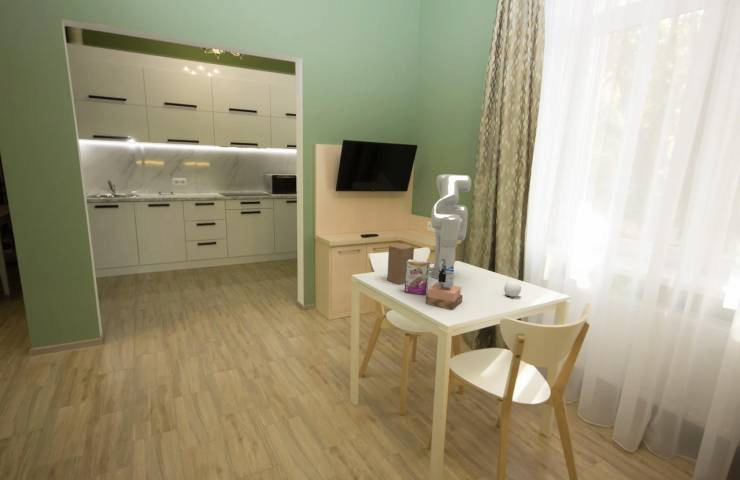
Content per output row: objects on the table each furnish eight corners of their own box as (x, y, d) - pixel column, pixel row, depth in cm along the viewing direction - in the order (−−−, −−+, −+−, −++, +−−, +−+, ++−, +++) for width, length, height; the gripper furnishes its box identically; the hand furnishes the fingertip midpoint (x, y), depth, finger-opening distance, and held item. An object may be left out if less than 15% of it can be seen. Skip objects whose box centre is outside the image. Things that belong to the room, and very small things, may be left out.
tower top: (428, 297, 175) (428, 288, 175) (436, 290, 186) (436, 282, 185) (453, 302, 170) (454, 293, 169) (460, 294, 181) (460, 286, 180)
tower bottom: (425, 304, 177) (426, 296, 176) (436, 297, 188) (437, 289, 187) (452, 311, 170) (452, 302, 169) (461, 303, 181) (462, 295, 180)
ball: (520, 300, 187) (522, 284, 185) (503, 297, 189) (505, 282, 188) (519, 295, 194) (521, 280, 193) (503, 292, 197) (504, 278, 195)
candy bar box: (404, 292, 191) (405, 261, 188) (406, 289, 196) (408, 259, 193) (426, 295, 188) (428, 263, 184) (427, 292, 192) (430, 261, 189)
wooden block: (399, 285, 203) (401, 248, 199) (386, 280, 210) (388, 245, 207) (412, 281, 210) (414, 246, 206) (399, 277, 217) (401, 243, 213)
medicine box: (438, 282, 181) (439, 264, 179) (447, 282, 181) (448, 264, 179) (443, 287, 173) (445, 269, 171) (452, 287, 174) (454, 269, 172)
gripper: (447, 239, 182) (445, 273, 186) (433, 245, 168) (430, 282, 171) (462, 241, 178) (459, 276, 182) (449, 247, 164) (446, 285, 167)
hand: (445, 279), depth 177 cm, fingers closed on medicine box, 9 cm apart
